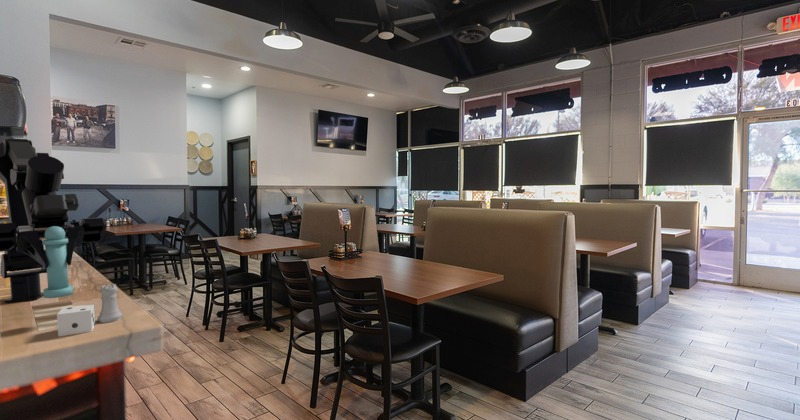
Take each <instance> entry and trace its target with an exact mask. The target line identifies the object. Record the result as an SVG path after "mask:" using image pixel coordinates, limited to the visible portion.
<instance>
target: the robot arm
mask: <svg viewBox="0 0 800 420" xmlns="http://www.w3.org/2000/svg"><path fill="white" fill-rule="evenodd" d="M64 169H65V165H64V163H63V162H62V161H61V160H59V159H58V158H56V157H53V156H50V154H49V152H36V148H35V146H33V142H32V140H30V139H28V138H16V137H14V138H13V137H8V138H3V141H2V142H0V181H1V182H3V183H4V188H5V189H4V190H5V197H6V207H7V213H8V222H2V223H0V252H4V253H2V254H1V257H0V259H1V260H0V277H1V278H3V279H9V285H10V297H9V298H6V299H5V300H3V302H4V303H12V302H23V301H24V302H25V301H35V300H38V299H41V298H42V297H44V292H43V291H42V289H41V274H47V268H48V260H47V257H46V250H45V245H42V240H47V239H46V238H45V231H46V230H47V229H48V228H50V227H52V226H58V227H61V228H62V229H64V231H65V237H64V238H68V243H66V253H67V266H71V264H72V260H73V254H74V252H75V250H76V248H79V247H81V246H82V245H83V244H82V243H84V244H95V243H100V242H103V241H104V238H105V235H106V230H107V227H108V226H107V222H106V219H104V218H103V217H91V218H90V217H88V218H86V217H85V218H81V222H80V225H74V224H70V225H69V224H68V225H67V224H66V223H68V222H69V216H68V212H71V211H72V212H73V211H77V210H78V208H79V206H80V204H79V199H78V197H77V194H76V193H65V195H64V194H57V192H58V191H59V190H60V189H61V185H62V180H64V179H65V177H64V175H65V174H64Z"/></svg>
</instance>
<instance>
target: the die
mask: <svg viewBox="0 0 800 420" xmlns="http://www.w3.org/2000/svg"><path fill="white" fill-rule="evenodd" d="M57 323H58V327H57V337H59V338H60V337H64V336H65V337H66V336H72V335H78V334H83V333H91V332H93V330H94V327H95V326H96V311H95V303H91V304H82V305H76V306H75V305H74V306H73V307H65V308H62V309H61V310H60V311H59V313H58V314H57Z"/></svg>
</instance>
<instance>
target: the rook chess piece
mask: <svg viewBox="0 0 800 420" xmlns="http://www.w3.org/2000/svg"><path fill="white" fill-rule="evenodd" d="M118 290H119V288H118V287H117V283H111V284H109V283H108V284H103V285H101V286H100V289H99V291H98V292H99V293H100V294H101V297H100V300H101V310H100V312H99V315H98V316H97V321H98V322H99V323H102V324H104V323H105V324H107V323H113V322H116V321H119V320H121V319H122V316H124V315H123V313H122V312H121V310H120V309H119V306H118V302H117V297H118V295H117V291H118Z"/></svg>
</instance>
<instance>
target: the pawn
mask: <svg viewBox="0 0 800 420" xmlns="http://www.w3.org/2000/svg"><path fill="white" fill-rule="evenodd" d="M64 237H65V231H64V229H62V228H61V227H58V226H52V227H50V228H48V229H47V230H46V231H45V238H46V239H41V240H42V245H43V246H44V250H46V257H47V260H48V268H47V273H46V278H47V279H46V280H47V287H46V288H44V289H43V290H42V292H44V296H43V298H44V299H58V298H63V297H64V298H65V297H69V296H71V295H73V294H74V286H73V285H71V284H69V273H68V264H67V253H66V243H68V238H64Z"/></svg>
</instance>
